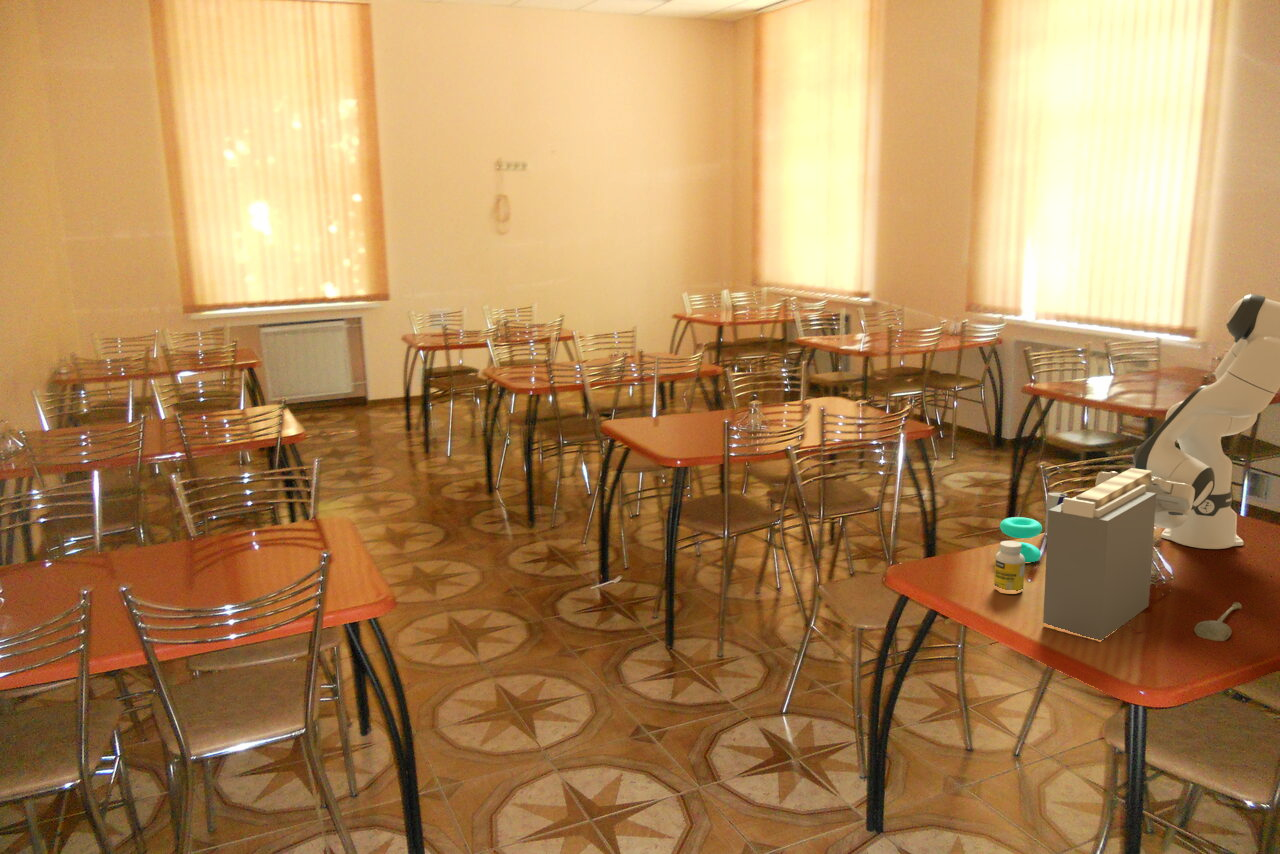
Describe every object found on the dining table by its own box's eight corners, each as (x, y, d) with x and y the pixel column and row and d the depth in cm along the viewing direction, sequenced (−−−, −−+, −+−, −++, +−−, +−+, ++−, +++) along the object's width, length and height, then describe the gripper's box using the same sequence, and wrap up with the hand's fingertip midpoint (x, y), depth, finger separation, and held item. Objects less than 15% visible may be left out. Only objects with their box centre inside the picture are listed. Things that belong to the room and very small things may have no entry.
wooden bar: (1130, 480, 221) (1131, 468, 221) (1151, 483, 218) (1151, 470, 218) (1075, 510, 201) (1076, 496, 200) (1097, 514, 198) (1098, 500, 197)
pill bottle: (987, 589, 229) (989, 542, 227) (1007, 583, 232) (1009, 537, 230) (1009, 598, 224) (1011, 550, 221) (1029, 592, 227) (1031, 544, 224)
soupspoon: (1188, 640, 201) (1224, 650, 196) (1190, 625, 200) (1226, 635, 195) (1220, 605, 216) (1254, 613, 211) (1222, 591, 215) (1256, 599, 210)
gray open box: (1093, 593, 225) (1100, 471, 219) (1148, 606, 216) (1157, 479, 210) (1043, 627, 207) (1049, 496, 201) (1100, 642, 199) (1108, 506, 193)
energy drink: (1068, 539, 262) (1070, 496, 259) (1047, 539, 263) (1049, 496, 261) (1063, 533, 267) (1066, 491, 265) (1043, 533, 268) (1045, 491, 266)
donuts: (1049, 521, 246) (1029, 529, 240) (1048, 558, 248) (1027, 568, 242) (1013, 513, 254) (992, 521, 248) (1011, 549, 256) (991, 559, 250)
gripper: (1109, 476, 235) (1090, 458, 225) (1203, 490, 220) (1186, 471, 210) (1103, 501, 234) (1083, 483, 224) (1196, 517, 219) (1179, 499, 209)
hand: (1134, 478), depth 217 cm, fingers open, 8 cm apart
